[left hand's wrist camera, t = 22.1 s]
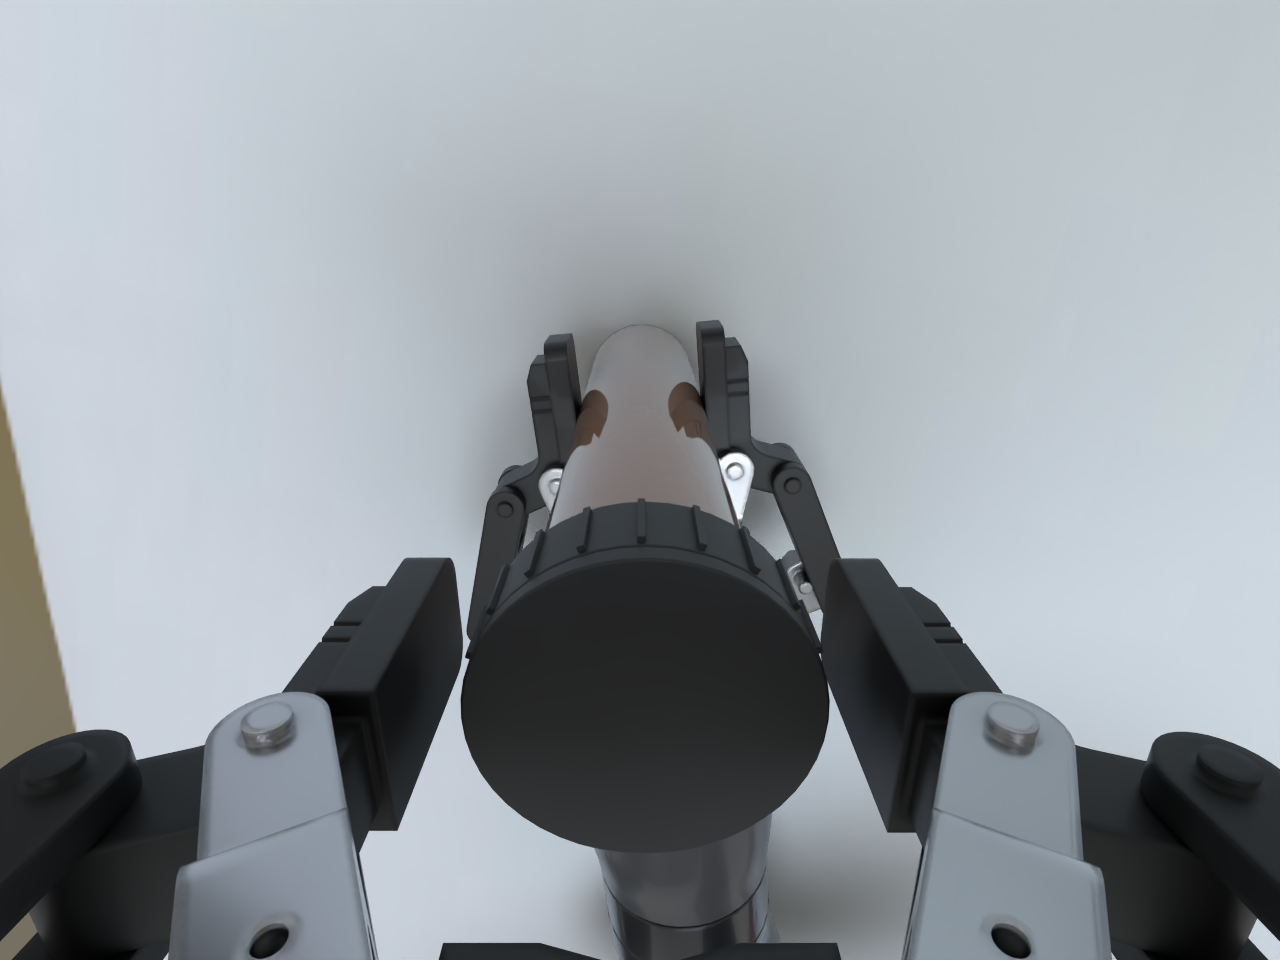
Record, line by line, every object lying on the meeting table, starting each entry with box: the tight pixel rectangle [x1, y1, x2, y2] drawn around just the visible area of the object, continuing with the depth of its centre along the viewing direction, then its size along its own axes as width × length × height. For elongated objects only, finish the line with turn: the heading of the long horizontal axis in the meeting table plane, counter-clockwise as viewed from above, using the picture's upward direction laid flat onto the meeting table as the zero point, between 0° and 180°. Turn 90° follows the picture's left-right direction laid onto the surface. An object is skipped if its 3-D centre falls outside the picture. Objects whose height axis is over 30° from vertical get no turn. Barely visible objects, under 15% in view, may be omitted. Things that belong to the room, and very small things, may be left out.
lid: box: [461, 498, 830, 854], centre depth 10 cm, size 5×5×2 cm
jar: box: [546, 325, 741, 531], centre depth 19 cm, size 4×4×19 cm
